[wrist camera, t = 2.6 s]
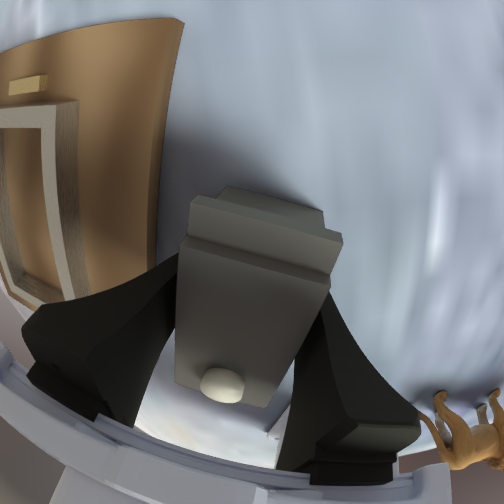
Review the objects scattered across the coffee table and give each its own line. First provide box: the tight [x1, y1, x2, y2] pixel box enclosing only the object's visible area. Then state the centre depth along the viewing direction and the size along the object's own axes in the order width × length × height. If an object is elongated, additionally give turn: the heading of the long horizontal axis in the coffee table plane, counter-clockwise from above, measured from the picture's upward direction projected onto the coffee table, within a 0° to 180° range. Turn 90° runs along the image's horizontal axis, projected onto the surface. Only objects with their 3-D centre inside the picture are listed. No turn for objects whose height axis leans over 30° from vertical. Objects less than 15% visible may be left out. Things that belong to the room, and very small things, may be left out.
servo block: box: [175, 186, 343, 408], centre depth 11 cm, size 4×9×6 cm, turn 168°
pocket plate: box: [0, 18, 185, 361], centre depth 12 cm, size 16×20×2 cm
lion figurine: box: [418, 389, 504, 471], centre depth 13 cm, size 15×5×9 cm, turn 88°
